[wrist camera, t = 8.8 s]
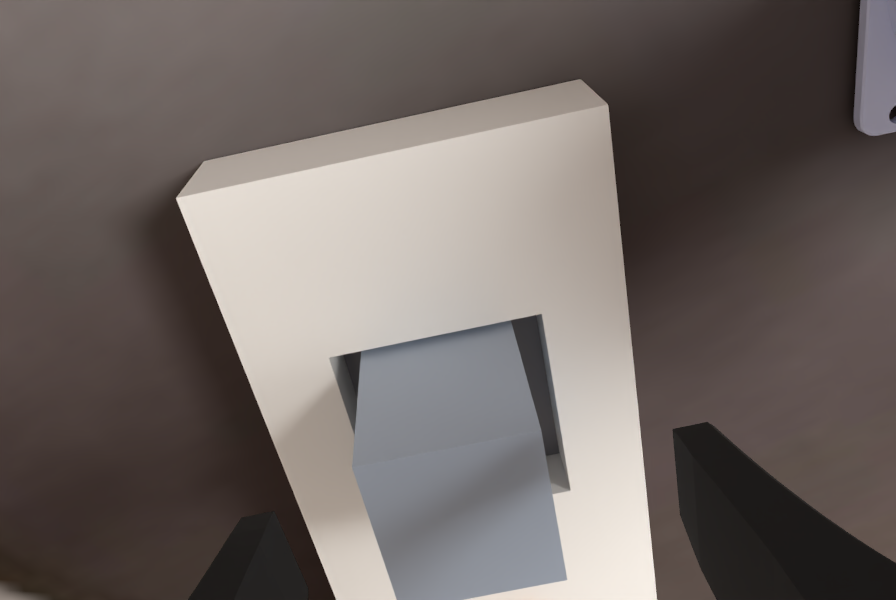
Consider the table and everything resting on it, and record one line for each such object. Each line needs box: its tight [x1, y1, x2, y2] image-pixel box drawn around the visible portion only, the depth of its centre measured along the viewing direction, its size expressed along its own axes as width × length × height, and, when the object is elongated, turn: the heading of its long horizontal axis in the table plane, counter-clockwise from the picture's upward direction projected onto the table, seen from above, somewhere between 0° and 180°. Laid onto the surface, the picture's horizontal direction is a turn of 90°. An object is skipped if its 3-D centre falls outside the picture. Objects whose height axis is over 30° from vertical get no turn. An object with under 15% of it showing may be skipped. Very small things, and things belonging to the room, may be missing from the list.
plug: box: [352, 320, 567, 600], centre depth 19 cm, size 4×4×6 cm
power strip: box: [176, 79, 657, 600], centre depth 23 cm, size 10×20×3 cm, turn 11°
